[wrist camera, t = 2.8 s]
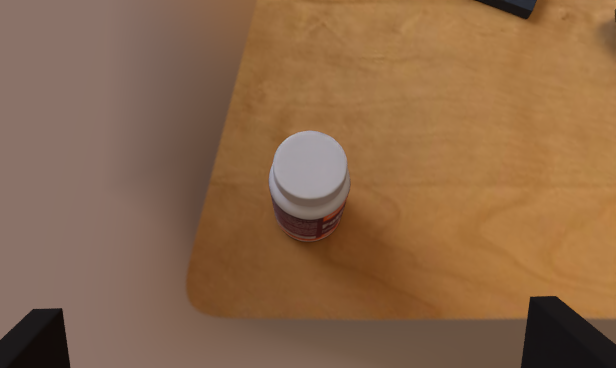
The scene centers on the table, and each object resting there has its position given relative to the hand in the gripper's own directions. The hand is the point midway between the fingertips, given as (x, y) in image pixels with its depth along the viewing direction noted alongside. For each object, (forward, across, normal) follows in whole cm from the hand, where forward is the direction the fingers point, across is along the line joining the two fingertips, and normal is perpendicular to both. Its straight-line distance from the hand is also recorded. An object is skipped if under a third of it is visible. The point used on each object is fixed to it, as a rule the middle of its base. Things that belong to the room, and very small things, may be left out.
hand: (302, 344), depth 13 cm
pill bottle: (+19, +1, -2) cm, 19 cm away
